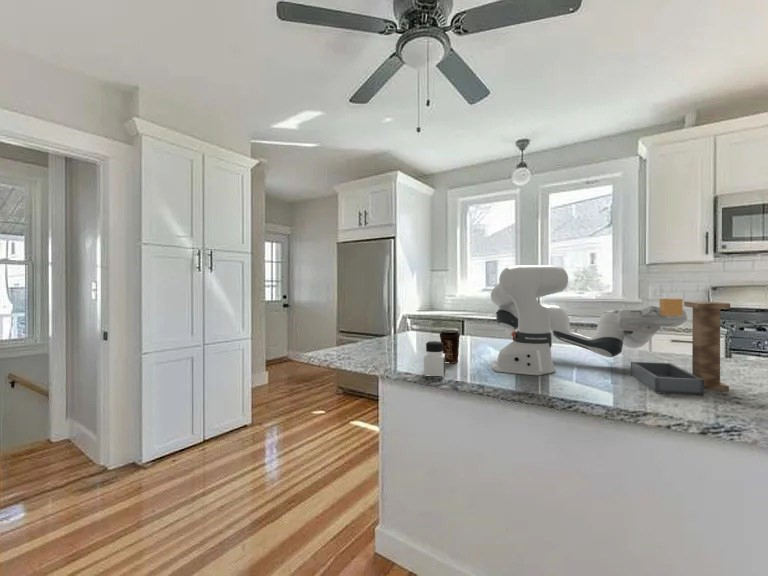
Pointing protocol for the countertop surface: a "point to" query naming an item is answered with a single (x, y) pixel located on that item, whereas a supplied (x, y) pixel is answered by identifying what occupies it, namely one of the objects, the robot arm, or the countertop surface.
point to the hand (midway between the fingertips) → (658, 307)
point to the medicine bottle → (434, 359)
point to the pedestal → (707, 343)
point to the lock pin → (670, 307)
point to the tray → (667, 378)
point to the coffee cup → (450, 345)
